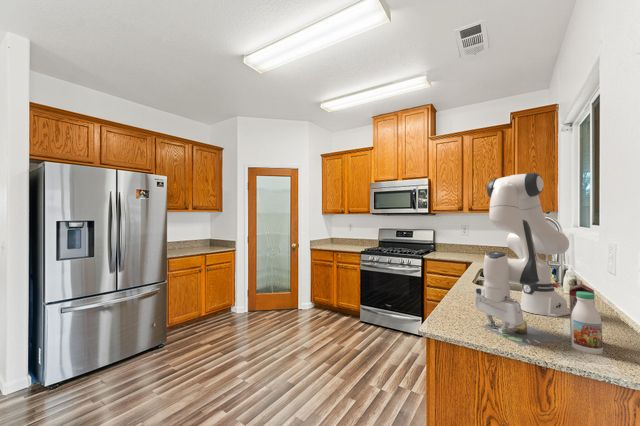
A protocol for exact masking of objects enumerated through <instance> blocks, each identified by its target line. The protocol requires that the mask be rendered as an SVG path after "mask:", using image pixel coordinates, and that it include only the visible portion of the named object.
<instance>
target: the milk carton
mask: <svg viewBox="0 0 640 426" xmlns="http://www.w3.org/2000/svg"><path fill="white" fill-rule="evenodd" d="M580 291H581V292H589V293H593V294H594V295H595V290H594V288H591V287H588V286H586V285H585V284H583V281H582V280H580V283H579V284H577V285H573V286H571V287H569V309H570V314H569V315H570V316H569V321H570V322H569V325H570V331H571V314H572V311H573V309H574V307H575V306H576V303H577V298H576V297H577V296H576V292H580ZM594 305H596V304H595V303H594Z"/></svg>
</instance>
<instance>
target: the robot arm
mask: <svg viewBox="0 0 640 426" xmlns="http://www.w3.org/2000/svg"><path fill="white" fill-rule="evenodd" d="M544 185H545V184H544V180H543V178H542V176H541V174H539V173H536V172H527V173H519V174H511V175H507V176H504V177H503V176H502V177H499V178H497V177H496V178H493V179H491V180H490V181H488V183H487V185H486V194H487V196H488V198H489V199H490V201H489V209H488V215H489V221H490V223H491V224H492V225H494V226H495V227H496V228H498V229H500V230H502V231H505V232H509V233H508V235H507V237H506V245H507V247H508V248H509V249H510V250H511V251H512V252H513V253H515V255H516V256H517V257H518V258H509V257H508V255H507V254H506V253H505V252H503V251H497V250H496V251H488V252H487V253H485V254H484V256H483V267H482V269H483V271H482V272H483V276H484V281H483V286H481V287H475V288H474V293H475V294H474V307H475V309H477V310H478V311H480V312H483V313H485V316H486V319H487V320H488V325H491V326H495V324H496V321H495V320H494V319H493V318H496V319H498V320H500V321H502V323H501V324H503V326H501V328H503V327H508V326H509V324H512V325H514V326H518V325H522V324H523V321H524V315H523V311H524V312H525V313H526V312H527V313H530V314H535V315H540V316H548V317H549V316H550V317H553V318H558V317H563V316H567V315H570V307H568V301H567V299H566V298H565V297H564V296H562V295H561V294H560V293H558V292H557V291H556V290H555V288H556V289H559V287H560V285H559V283H555V282H552V269H551V266H550V265H549V264H548V263H546V262H545V261H543V260H541V259H540V257H539V256H538V254H541V255H550V256H551V255H562V254H563V255H564V254H565V253H566V252H568V250H569V248H570V240H569V238H568V237H567V236H566V234H565V233H562V232H560V231H559V230H557V229H555V227H553V226H552V225H551V223H549V222H548V220H547V219H546V216H545V214H544V210H543V208H542V204H541V200H540V197H539V195H540V194H541V193H542V192H543V190H544ZM510 283H514V284H520V285H521V287H522V290H521V297H520V302H519V301H518V300H517V299H515V298H512V297H511V286H510Z"/></svg>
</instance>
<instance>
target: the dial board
mask: <svg viewBox="0 0 640 426" xmlns="http://www.w3.org/2000/svg"><path fill="white" fill-rule="evenodd" d="M503 324H504V323H497V324H496V323H495V326H491V325H489V324H488V325H487V324H486V325H481V327H482V328H484V329H486V330H489V331H490V332H492V333H493V334H496V335H498V336H500V337H502V338H504V339H506V340H508V341H511V342H513V343H514V344H516V345H518V346H521V347H523V346H534V345H541V344H549V343H557V342H566V339H563V338H560V337H557V336H556V335H553V334H550V333H547V332H545V331H543V330H541V329H538V328H536V327H533V326H530V325H528V324H527V334H519V333H516V332H514V331H513V332H507V333H500V332H499V328H501V326H503ZM510 326H513V325H512V324H509V326H508V327H510Z"/></svg>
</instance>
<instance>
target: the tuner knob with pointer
mask: <svg viewBox="0 0 640 426" xmlns="http://www.w3.org/2000/svg"><path fill="white" fill-rule="evenodd" d="M527 325H528V322H527V321H525V320H523V324H522V325H518V326H514V325H513V326H510V327H503V328H499V332H500V333H507V332H513V331H514V332H516V333H519V334H527Z"/></svg>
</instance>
